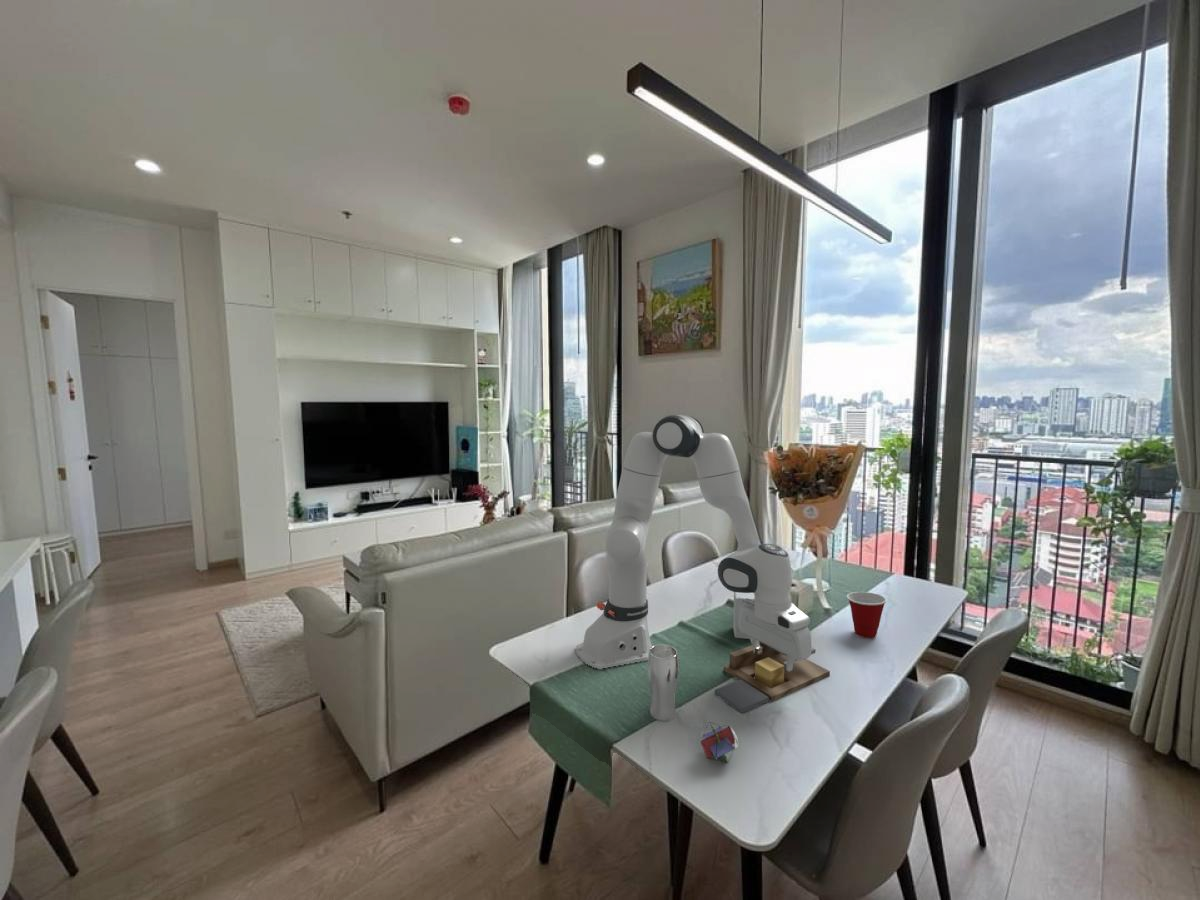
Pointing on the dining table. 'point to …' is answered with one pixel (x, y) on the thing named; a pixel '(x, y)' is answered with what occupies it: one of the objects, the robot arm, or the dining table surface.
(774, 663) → the ochre block
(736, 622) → the supplement box
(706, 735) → the geometric puzzle
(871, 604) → the plastic cup
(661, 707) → the beer glass
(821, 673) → the puzzle board
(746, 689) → the slate coaster
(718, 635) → the dining table surface
